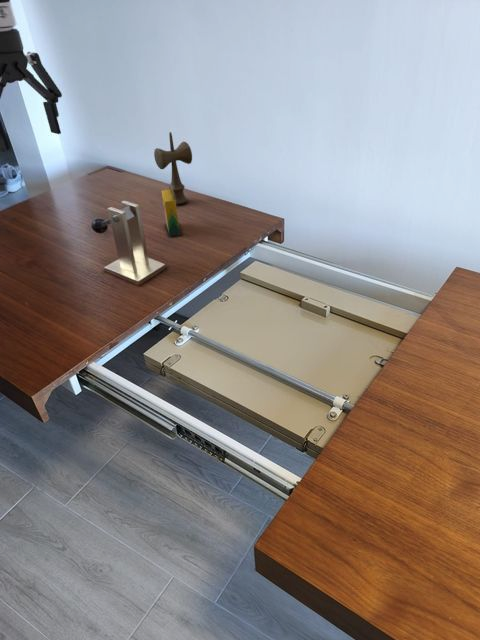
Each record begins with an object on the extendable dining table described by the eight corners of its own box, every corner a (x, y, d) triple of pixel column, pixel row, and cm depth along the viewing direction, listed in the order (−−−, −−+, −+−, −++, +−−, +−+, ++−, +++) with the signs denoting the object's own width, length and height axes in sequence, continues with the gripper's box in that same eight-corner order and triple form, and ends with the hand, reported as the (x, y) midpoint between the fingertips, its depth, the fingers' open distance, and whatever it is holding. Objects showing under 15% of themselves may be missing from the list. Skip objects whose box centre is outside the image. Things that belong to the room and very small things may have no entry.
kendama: (197, 201, 142) (191, 131, 128) (168, 210, 137) (159, 137, 124) (187, 195, 145) (180, 126, 132) (159, 203, 141) (149, 132, 128)
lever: (93, 237, 111) (85, 223, 110) (105, 231, 113) (97, 217, 112) (126, 223, 101) (117, 208, 100) (138, 217, 104) (130, 202, 102)
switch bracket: (105, 271, 111) (89, 207, 101) (132, 255, 117) (120, 193, 107) (139, 285, 107) (126, 220, 97) (166, 268, 113) (156, 205, 102)
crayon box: (166, 224, 130) (160, 183, 122) (176, 223, 131) (171, 182, 123) (169, 237, 125) (163, 194, 117) (180, 235, 125) (175, 193, 118)
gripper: (-53, 37, 84) (-9, 159, 98) (61, 23, 100) (85, 129, 114) (-76, 34, 87) (-30, 152, 101) (38, 20, 103) (65, 124, 117)
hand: (31, 140), depth 108 cm, fingers open, 13 cm apart
